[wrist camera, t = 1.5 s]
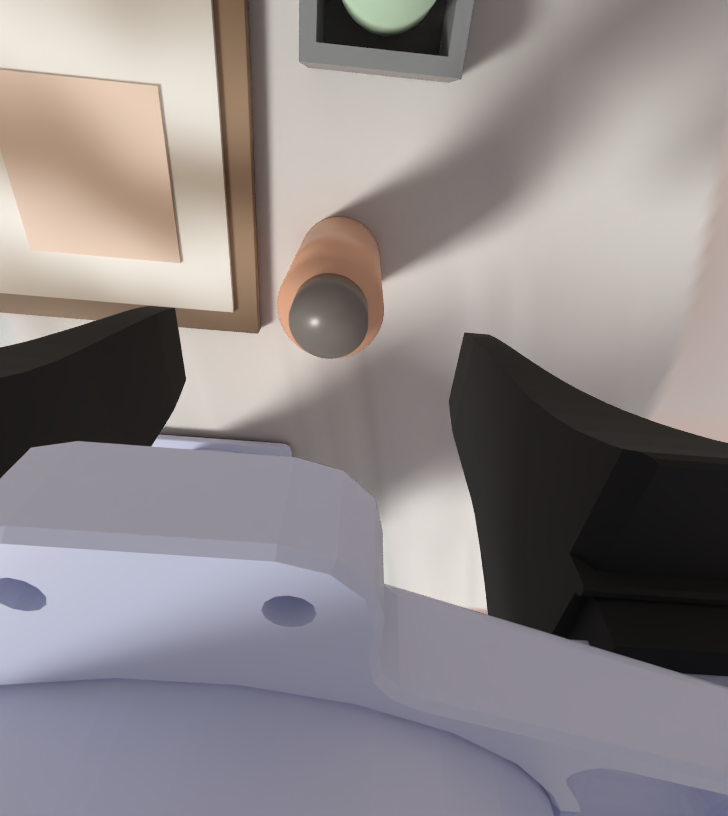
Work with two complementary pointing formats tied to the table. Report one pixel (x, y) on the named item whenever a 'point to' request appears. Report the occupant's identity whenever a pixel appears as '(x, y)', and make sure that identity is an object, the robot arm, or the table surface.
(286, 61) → the table surface
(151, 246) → the beige flat tray
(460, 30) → the button housing
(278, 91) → the table surface
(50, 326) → the table surface
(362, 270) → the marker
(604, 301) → the table surface
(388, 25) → the button
